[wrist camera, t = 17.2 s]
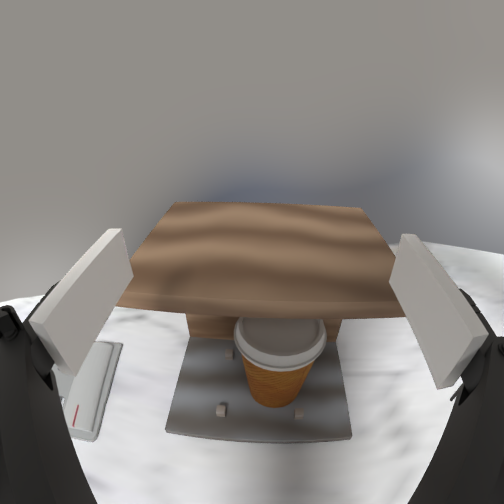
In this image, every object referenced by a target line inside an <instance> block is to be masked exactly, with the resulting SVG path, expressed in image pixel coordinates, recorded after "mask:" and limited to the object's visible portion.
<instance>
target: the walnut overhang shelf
mask: <svg viewBox="0 0 504 504" xmlns="http://www.w3.org/2000/svg"><path fill="white" fill-rule="evenodd" d="M395 259H396V257H395V255H394V254H393V252H392V251H391V249H390V248H389V246H388V245H387V243H386V242H385V240H384V239H383V238H382V236H381V235H380V233H379V232H378V230H377V229H376V228H375V226H374V225H373V224H372V223H371V221H370V219H369V218H368V217H367V215H366V214H365V213H364V211H363V210H362V209H361V208H352V207H338V206H320V205H302V204H277V203H245V202H244V203H243V202H175V203H174V204H173V205H172V206H171V208H170V209H169V210H168V211H167V212H166V214H165V215H164V216H163V218H162V219H161V220H160V221H159V222H158V224H157V225H156V226H155V228H154V229H153V230H152V231H151V232H150V234H149V235H148V236H147V238H146V239H145V240H144V242H143V243H142V244H141V246H140V247H139V248H138V250H137V251H136V252H135V253H134V255H133V256H132V258H131V259H130V260H129V261H130V264H131V268H132V272H133V276H134V277H133V278H132V280H131V281H130V283H129V284H128V286H127V288H126V289H125V291H124V292H123V294H122V296H121V297H120V299H119V301H118V302H117V304H116V306H118V307H126V308H135V309H144V310H153V311H164V312H174V313H186V318H187V323H188V329H189V334H190V339H189V342H188V346H187V349H186V353H185V356H184V360H183V363H182V367H181V370H180V374H179V378H178V381H177V385H176V389H175V392H174V396H173V400H172V404H171V408H170V411H169V415H168V419H167V423H166V427H165V430H166V432H167V433H173V434H178V435H184V436H191V437H198V438H206V439H215V440H225V441H237V442H254V443H310V442H327V441H339V440H349V439H351V437H352V432H351V425H350V418H349V412H348V406H347V400H346V394H345V388H344V383H343V377H342V372H341V366H340V361H339V356H338V351H337V346H336V339H337V336H338V332H339V329H340V325H341V322H342V319H367V318H394V317H406V315H405V313H404V311H403V309H402V307H401V305H400V303H399V301H398V299H397V297H396V295H395V293H394V291H393V289H392V287H391V285H390V283H389V280H390V277H391V273H392V270H393V266H394V263H395ZM240 317H250V318H279V319H323V323H324V326H325V329H326V333H327V340H326V345H325V347H324V349H323V351H322V352H321V354H320V355H319V356H318V357H317V358H316V359H315V360H314V363H313V365H312V367H311V369H310V371H309V373H308V375H307V377H306V379H305V381H304V383H303V385H302V387H301V389H300V391H299V393H298V395H297V397H296V398H295V400H294V401H293V402H291V403H290V404H288V405H286V406H284V407H280V408H269V407H265V406H263V405H261V404H259V403H258V402H256V401H255V400H254V399H253V397H252V395H251V393H250V388H249V384H248V381H247V376H246V372H245V367H244V363H243V359H242V354H241V352H240V351H239V349H238V347H237V345H236V344H235V340H234V328H235V324H236V322H237V321H238V319H239V318H240Z"/></svg>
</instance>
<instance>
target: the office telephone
mask: <svg viewBox="0 0 504 504" xmlns="http://www.w3.org/2000/svg"><path fill="white" fill-rule="evenodd" d="M121 349H122V344H120V343H109V342H94V344H93V346H92V347H91V349H90V351H89V353H88V355H87V357H86V359H85V360H84V362H83V364H82V366H81V368H80V370H79V372H78V374H77V376H76V377H74V376H70V375H67V374H64V373H61V371H60V370H59V368H58V367H57V366H56V364H55V363H54V365H53V367H52V370H53V372H54V374H55V377H56V382H57V387H58V392H59V396H60V400H62V398H64V404H63V407H62V408H63V412H64V416H65V420H66V423H67V427H68V430H69V433H70V436H71V438H74V439H78V440H83V441H87V442H94V441H95V440H96V439H97V437H98V434H99V430H100V426H101V422H102V418H103V414H104V409H105V405H106V403H107V400H108V396H109V392H110V388H111V384H112V380H113V377H114V373H115V369H116V366H117V362H118V359H119V355H120V352H121Z"/></svg>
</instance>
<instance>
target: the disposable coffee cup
mask: <svg viewBox="0 0 504 504" xmlns="http://www.w3.org/2000/svg"><path fill="white" fill-rule="evenodd" d="M234 340H235V344H236V345H237V347H238V349H239V351H240V352H241V354H242V359H243V363H244V367H245V372H246V376H247V381H248V384H249V388H250V393H251V395H252V397H253V399H254V400H255V401H256V402H258V403H259V404H261V405H263V406H265V407H269V408H280V407H284V406H286V405H288V404H290V403H291V402H293V401H294V400H295V398H296V397H297V395H298V393H299V391H300V389H301V387H302V385H303V383H304V381H305V379H306V377H307V375H308V373H309V371H310V369H311V367H312V365H313V363H314V360H315V359H316V358H317V357H318V356H319V355H320V354H321V352H322V351H323V349H324V347H325V345H326V340H327V333H326V329H325V326H324V323H323V319H279V318H250V317H240V318H239V319H238V321H237V322H236V324H235V328H234Z"/></svg>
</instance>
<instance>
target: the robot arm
mask: <svg viewBox="0 0 504 504" xmlns="http://www.w3.org/2000/svg"><path fill="white" fill-rule="evenodd" d="M133 277H134V276H133V272H132V268H131V264H130V261H129V257H128V253H127V249H126V244H125V240H124V236H123V232H122V229H108V230H107V231H106V232H105V233H104V234H103V235H102V236H101V237H100V238H99V239H98V240H97V241H96V243H94V244H93V245H92V246H91V248H90V249H89V250H88V251H87V252H86V253H85V254H84V255H83V256H82V257H81V258H80V259H79V260H78V261H77V263H76V264H75V265H74V266H73V267H72V268H71V269H70V270H69V272H68V273H67V274H66V275H65V276H64V277H63V278H62V280H60V281H59V282H58V283H56V284H55V285H53V286H52V287H51V288H50V289H49V291H48V292H47V293H46V294H45V296H44V297H43V298H42V299H41V300H40V303H38V304H37V305H36V306H35V308H34V309H33V310H32V311H31V313H30V314H29V315H28V317H27V318H26V319H25V321H24V322H23V323H22V322H21V320H20V319H19V317H18V315H17V313H16V311H15V310H14V308H13V307H12V306H9V305H6V306H2V307H0V504H97V502H96V500H95V498H94V495H93V493H92V491H91V489H90V487H89V484H88V482H87V480H86V477H85V475H84V473H83V470H82V468H81V465H80V462H79V460H78V457H77V454H76V451H75V449H74V446H73V443H72V440H71V436H70V433H69V430H68V427H67V423H66V420H65V416H64V412H63V408H62V405H61V400H60V396H59V392H58V387H57V382H56V377H55V374H54V372H53V370H52V367H53V365H54V363H55V364H56V366H57V367H58V368H59V370H60V371H61V373H64V374H67V375H70V376H74V377H76V376H77V374H78V372H79V370H80V368H81V366H82V364H83V362H84V360H85V359H86V357H87V355H88V353H89V351H90V349H91V347H92V346H93V344H94V342H95V340H96V338H97V337H98V335H99V333H100V331H101V329H102V328H103V326H104V324H105V322H106V321H107V319H108V317H109V316H110V314H111V312H112V311H113V309H114V307H115V306H116V304H117V302H118V301H119V299H120V297H121V296H122V294H123V292H124V291H125V289H126V288H127V286H128V284H129V283H130V281H131V280H132V278H133ZM389 283H390V285H391V287H392V289H393V291H394V293H395V295H396V297H397V299H398V301H399V303H400V305H401V307H402V309H403V311H404V313H405V315H406V317H407V319H408V321H409V324H410V326H411V328H412V330H413V332H414V334H415V337H416V339H417V341H418V343H419V346H420V348H421V350H422V353H423V355H424V357H425V360H426V362H427V365H428V367H429V370H430V372H431V375H432V377H433V380H434V382H435V385H436V388H437V390H438V389H442V388H447V387H451V386H453V385H454V384H455V382H456V381H457V380H458V378H459V377H460V376H461V378H462V380H463V383H462V385H461V386H460V387H459V388H458V390H457V391H456V392H455V393H454V394H453V396H452V397H451V399H450V401H452V400H453V399H454V398H455V397H456V396H457V397H456V400H455V403H454V406H453V409H452V412H451V414H450V417H449V420H448V423H447V425H446V428H445V430H444V433H443V435H442V438H441V440H440V442H439V445H438V447H437V449H436V451H435V453H434V456H433V458H432V460H431V462H430V464H429V466H428V468H427V470H426V472H425V474H424V476H423V478H422V480H421V481H420V483H419V485H418V487H417V489H416V490H415V492H414V494H413V495H412V497H411V499H410V500H409V502H408V504H504V337H502V336H501V337H497V336H496V335H495V333H494V331H493V330H492V328H491V327H490V325H489V323H488V322H487V320H486V319H485V317H484V316H483V314H482V313H480V312H481V311H480V310H479V308H478V307H477V306H476V304H475V303H474V301H473V300H472V298H471V297H470V296H469V295H468V294H467V293H465V292H464V291H463V290H462V289H458V287H457V286H456V284H455V283H454V282H453V280H452V279H451V278H450V276H449V275H448V274H447V272H446V271H445V270H444V269H443V267H442V266H441V265H440V263H439V262H438V261H437V260H436V258H435V257H434V256H433V255H432V254H431V252H430V251H429V250H428V249H427V248H426V246H425V245H424V244H423V243H422V242H421V240H420V239H419V238H418V237H417V236H416V235H415V234H402V236H401V240H400V244H399V248H398V251H397V255H396V259H395V263H394V266H393V270H392V273H391V277H390V280H389Z"/></svg>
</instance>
